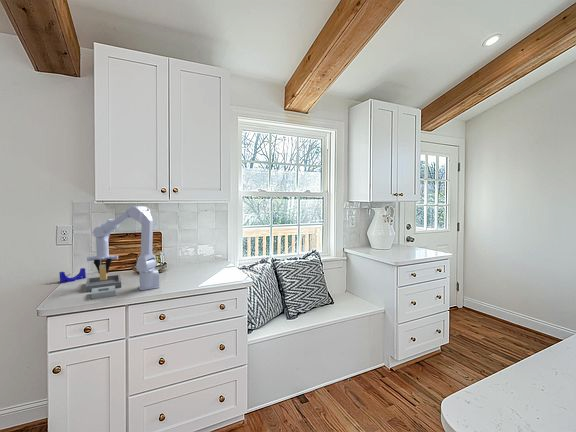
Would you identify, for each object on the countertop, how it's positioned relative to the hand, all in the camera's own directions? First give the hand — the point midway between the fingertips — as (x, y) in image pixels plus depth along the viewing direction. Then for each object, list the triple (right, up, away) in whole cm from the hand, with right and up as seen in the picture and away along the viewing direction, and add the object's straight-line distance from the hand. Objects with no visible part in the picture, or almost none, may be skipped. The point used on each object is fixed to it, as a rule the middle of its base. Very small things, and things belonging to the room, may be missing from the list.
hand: (103, 272), depth 164 cm
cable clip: (-24, -7, +11) cm, 27 cm away
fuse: (0, -4, 0) cm, 4 cm away
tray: (0, -7, 0) cm, 7 cm away
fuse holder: (+9, -8, -15) cm, 19 cm away
